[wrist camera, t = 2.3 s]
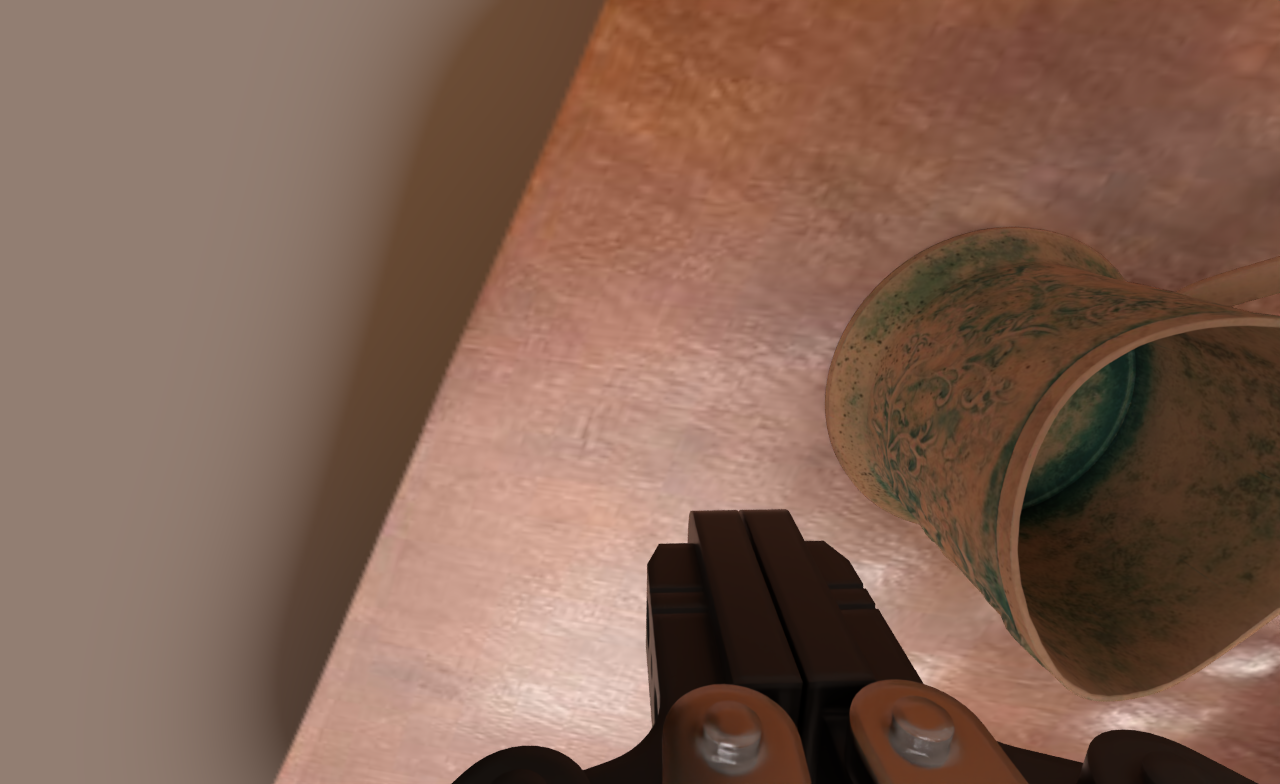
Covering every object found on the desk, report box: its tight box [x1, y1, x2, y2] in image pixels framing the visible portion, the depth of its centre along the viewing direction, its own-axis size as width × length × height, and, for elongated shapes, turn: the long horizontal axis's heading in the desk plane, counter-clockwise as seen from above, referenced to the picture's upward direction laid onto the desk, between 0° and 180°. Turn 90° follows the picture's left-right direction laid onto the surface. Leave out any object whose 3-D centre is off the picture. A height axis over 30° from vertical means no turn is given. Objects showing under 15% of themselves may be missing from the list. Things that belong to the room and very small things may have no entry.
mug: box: [825, 227, 1280, 701], centre depth 18 cm, size 12×18×12 cm, turn 131°
